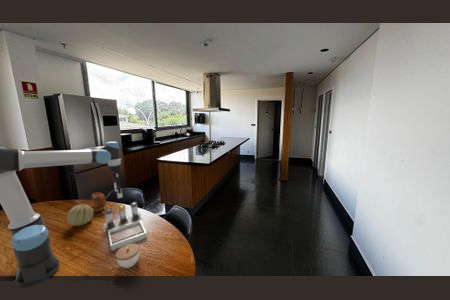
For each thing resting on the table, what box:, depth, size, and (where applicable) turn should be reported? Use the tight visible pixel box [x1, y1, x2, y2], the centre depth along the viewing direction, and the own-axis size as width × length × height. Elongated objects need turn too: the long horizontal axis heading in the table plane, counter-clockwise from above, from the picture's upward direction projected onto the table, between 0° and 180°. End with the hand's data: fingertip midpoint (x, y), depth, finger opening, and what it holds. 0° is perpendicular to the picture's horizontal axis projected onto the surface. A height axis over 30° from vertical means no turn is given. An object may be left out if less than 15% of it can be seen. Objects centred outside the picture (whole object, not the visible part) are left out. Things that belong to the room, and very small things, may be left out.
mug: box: [90, 192, 107, 212], centre depth 148 cm, size 15×8×15 cm, turn 62°
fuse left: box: [104, 208, 114, 228], centre depth 124 cm, size 4×4×12 cm
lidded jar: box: [115, 243, 140, 269], centre depth 95 cm, size 11×11×9 cm
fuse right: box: [130, 201, 139, 220], centre depth 134 cm, size 4×4×12 cm
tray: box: [107, 220, 148, 252], centre depth 117 cm, size 18×20×4 cm
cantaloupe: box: [66, 203, 94, 227], centre depth 129 cm, size 15×15×15 cm
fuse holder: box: [102, 212, 144, 233], centre depth 130 cm, size 10×24×4 cm, turn 127°
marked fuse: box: [117, 204, 127, 223], centre depth 129 cm, size 4×4×12 cm
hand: (118, 194), depth 126 cm, fingers open, 13 cm apart
